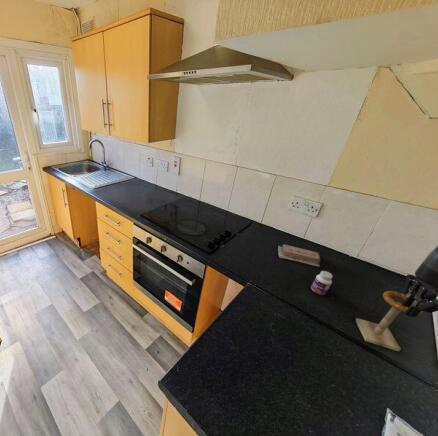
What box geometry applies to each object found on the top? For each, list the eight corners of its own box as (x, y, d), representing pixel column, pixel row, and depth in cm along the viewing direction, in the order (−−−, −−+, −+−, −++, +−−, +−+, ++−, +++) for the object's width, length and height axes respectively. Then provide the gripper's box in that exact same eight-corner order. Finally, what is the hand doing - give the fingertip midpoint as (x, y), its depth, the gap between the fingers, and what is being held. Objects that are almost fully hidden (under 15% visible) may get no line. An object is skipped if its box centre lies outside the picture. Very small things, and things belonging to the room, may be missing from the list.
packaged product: (319, 250, 116) (323, 260, 108) (315, 257, 119) (319, 268, 111) (280, 240, 123) (281, 250, 114) (277, 248, 125) (278, 257, 117)
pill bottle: (307, 288, 98) (316, 271, 93) (315, 285, 100) (324, 268, 95) (319, 297, 93) (329, 279, 89) (327, 294, 95) (338, 277, 91)
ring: (410, 299, 74) (413, 295, 73) (427, 319, 66) (431, 315, 66) (376, 290, 77) (379, 286, 76) (389, 309, 69) (392, 305, 69)
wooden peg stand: (384, 329, 81) (410, 298, 74) (398, 352, 74) (428, 320, 67) (354, 320, 84) (376, 289, 77) (364, 341, 76) (389, 309, 69)
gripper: (485, 289, 54) (439, 336, 62) (444, 257, 65) (409, 300, 73) (443, 279, 56) (403, 326, 64) (411, 250, 68) (380, 292, 76)
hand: (407, 312), depth 69 cm, fingers closed on ring, 2 cm apart
